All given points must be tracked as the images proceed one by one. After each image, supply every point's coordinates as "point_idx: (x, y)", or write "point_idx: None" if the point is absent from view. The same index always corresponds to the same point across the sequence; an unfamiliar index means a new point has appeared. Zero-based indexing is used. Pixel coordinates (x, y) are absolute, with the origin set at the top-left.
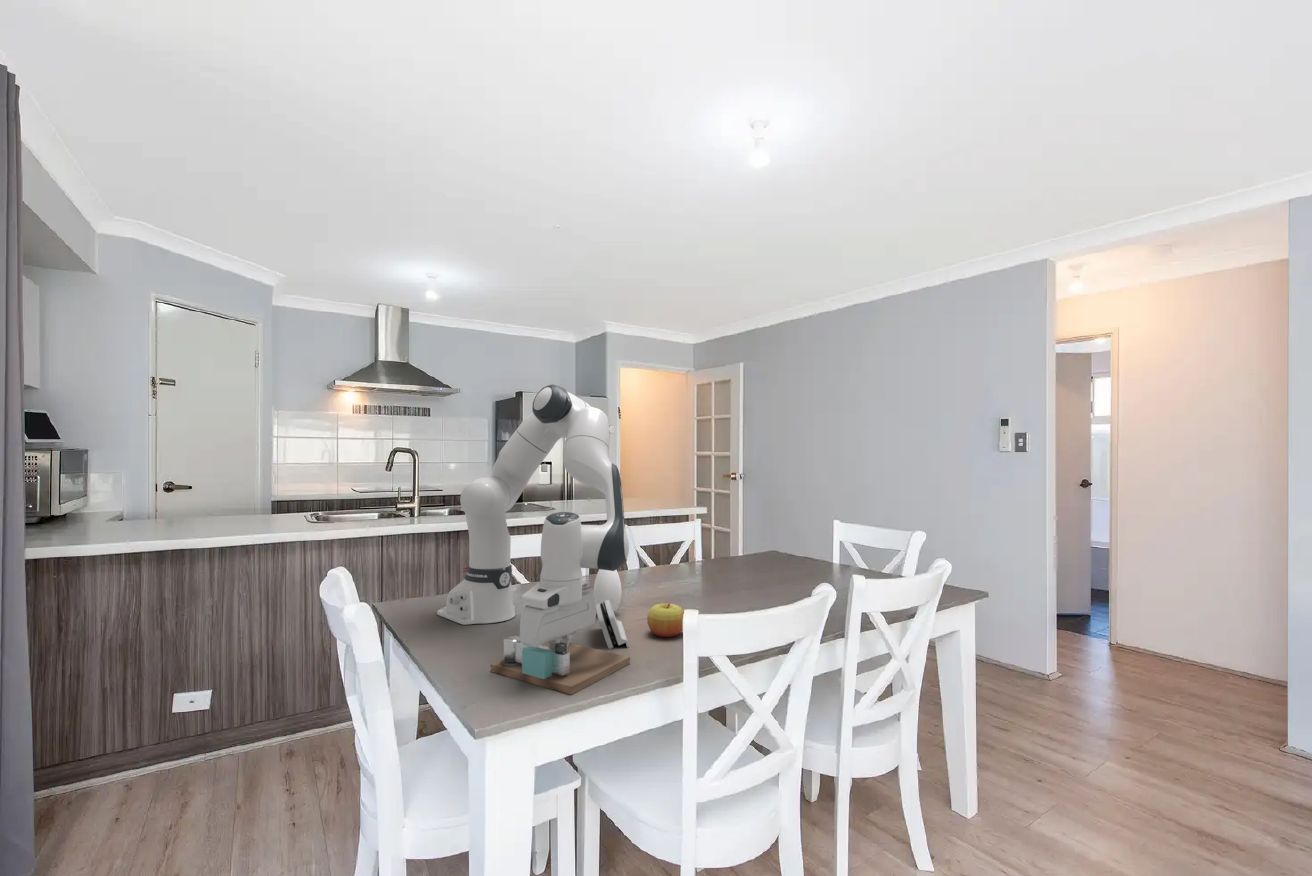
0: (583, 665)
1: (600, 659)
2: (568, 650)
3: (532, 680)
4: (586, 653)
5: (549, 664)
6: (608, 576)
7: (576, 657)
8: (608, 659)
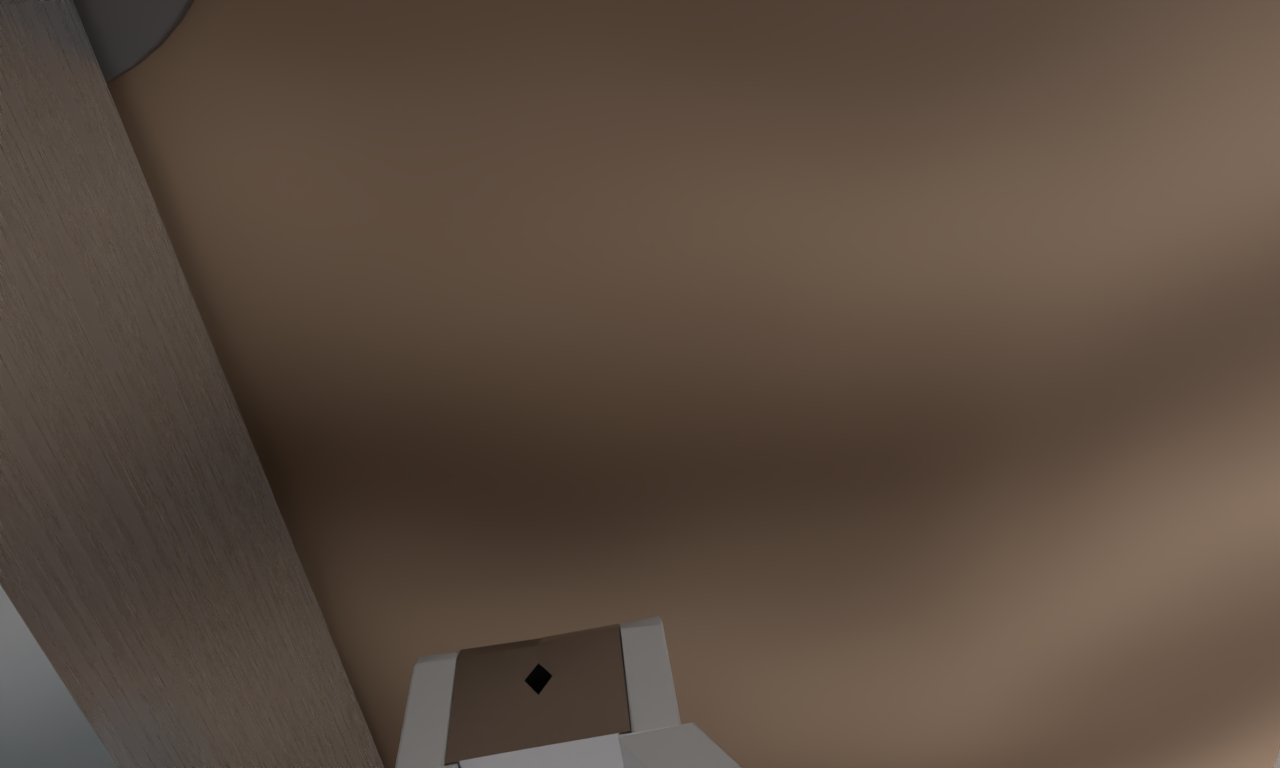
0: (768, 716)
1: (1043, 697)
2: (1166, 140)
3: None
4: (1159, 451)
5: None
6: None
7: (948, 476)
8: (1088, 740)
